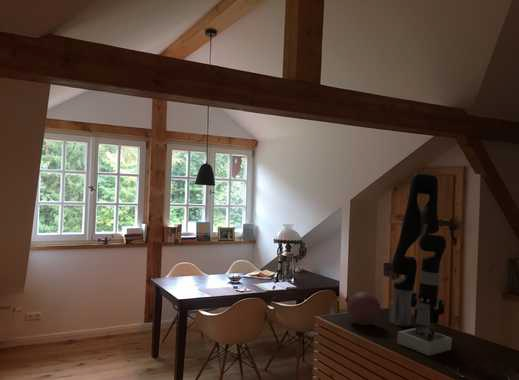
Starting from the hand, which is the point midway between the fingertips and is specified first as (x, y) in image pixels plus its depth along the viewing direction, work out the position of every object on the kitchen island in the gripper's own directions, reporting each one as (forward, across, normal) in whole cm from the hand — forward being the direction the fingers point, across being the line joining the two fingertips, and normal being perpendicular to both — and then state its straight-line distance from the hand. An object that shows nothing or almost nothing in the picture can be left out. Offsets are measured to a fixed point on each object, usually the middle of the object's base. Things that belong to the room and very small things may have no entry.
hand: (426, 321), depth 186 cm
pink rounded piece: (+11, +34, +1) cm, 36 cm away
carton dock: (+11, 0, 0) cm, 11 cm away
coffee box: (+8, 0, 0) cm, 8 cm away
